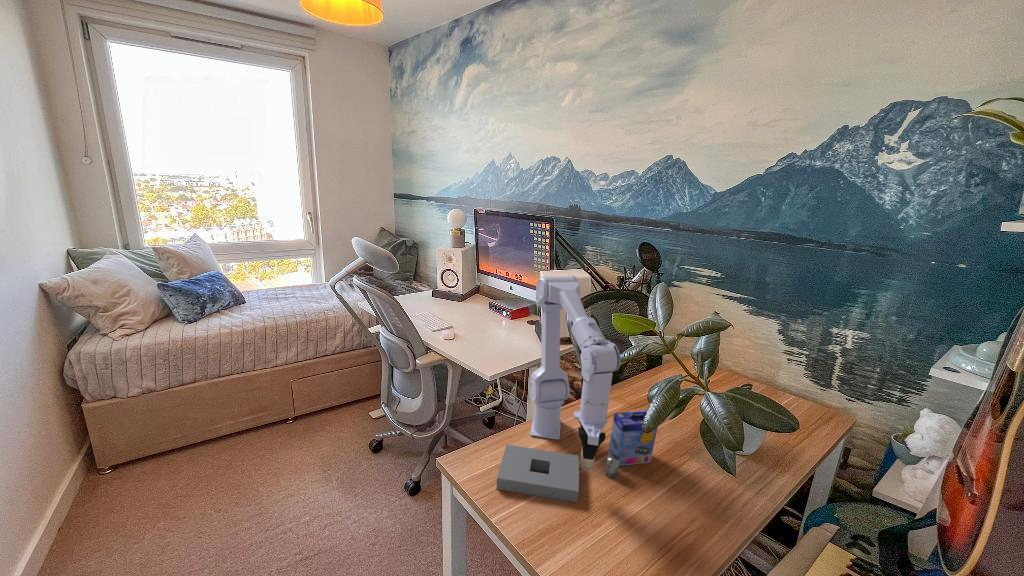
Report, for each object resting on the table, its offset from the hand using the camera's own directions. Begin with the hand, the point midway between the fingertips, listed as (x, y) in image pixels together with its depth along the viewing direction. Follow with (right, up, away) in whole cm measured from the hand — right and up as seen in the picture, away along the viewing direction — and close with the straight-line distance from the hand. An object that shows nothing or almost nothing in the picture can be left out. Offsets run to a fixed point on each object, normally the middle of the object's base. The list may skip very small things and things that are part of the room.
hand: (588, 452), depth 91 cm
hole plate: (-10, -8, +6) cm, 15 cm away
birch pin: (0, -3, +1) cm, 3 cm away
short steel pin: (+7, -9, +9) cm, 14 cm away
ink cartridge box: (+13, -7, +15) cm, 21 cm away
